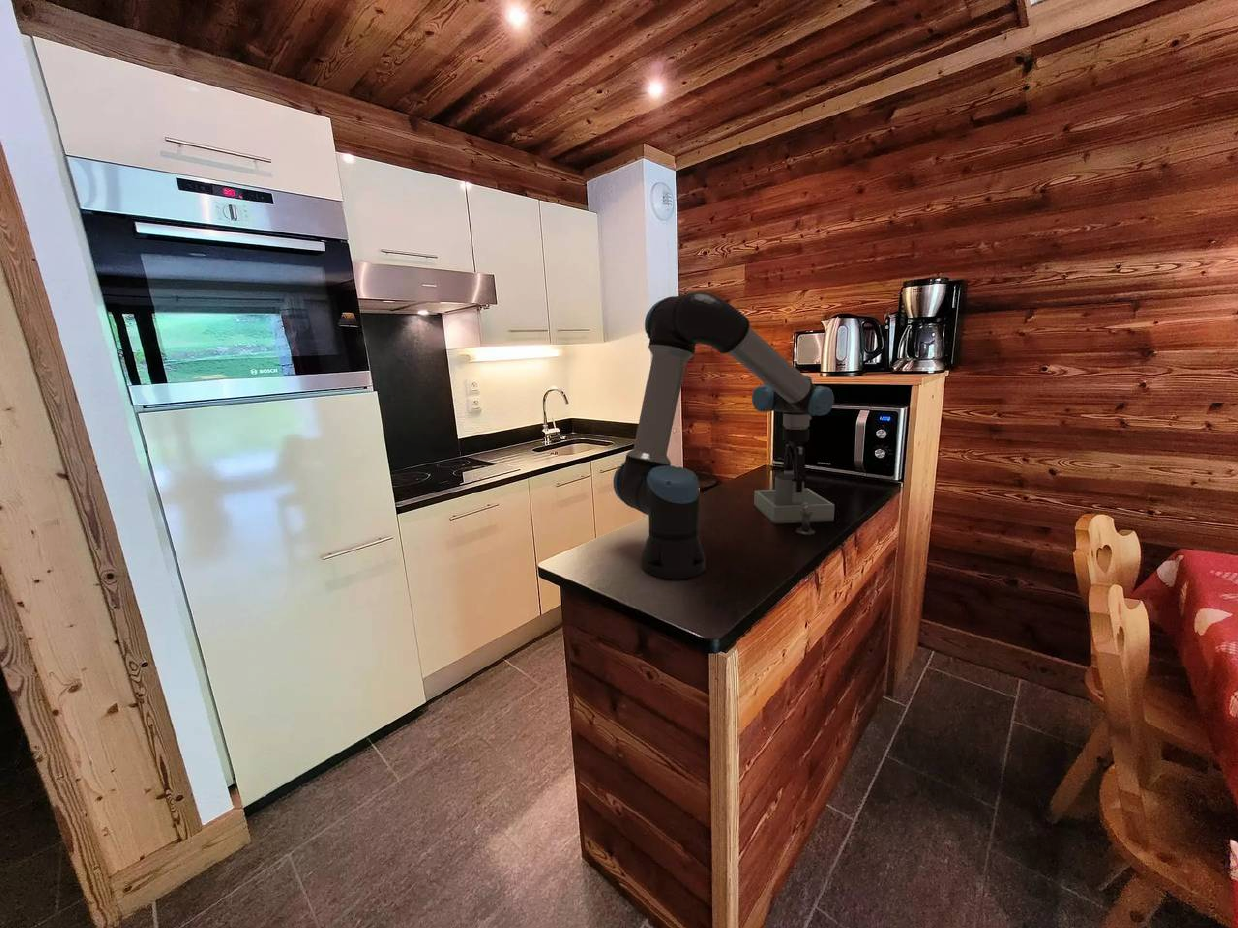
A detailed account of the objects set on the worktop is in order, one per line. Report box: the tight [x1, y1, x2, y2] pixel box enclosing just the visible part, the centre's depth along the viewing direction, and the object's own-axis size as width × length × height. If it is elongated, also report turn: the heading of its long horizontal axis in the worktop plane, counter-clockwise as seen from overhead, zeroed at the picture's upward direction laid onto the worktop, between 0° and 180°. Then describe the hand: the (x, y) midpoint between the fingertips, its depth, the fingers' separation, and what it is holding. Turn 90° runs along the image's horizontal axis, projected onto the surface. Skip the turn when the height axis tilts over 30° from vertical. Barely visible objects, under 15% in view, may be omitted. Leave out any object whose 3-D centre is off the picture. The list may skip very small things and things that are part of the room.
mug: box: [774, 473, 805, 506], centre depth 150 cm, size 12×8×11 cm
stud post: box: [795, 504, 816, 536], centre depth 133 cm, size 5×5×8 cm
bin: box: [753, 488, 836, 524], centre depth 150 cm, size 18×18×5 cm
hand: (792, 496), depth 149 cm, fingers open, 12 cm apart
